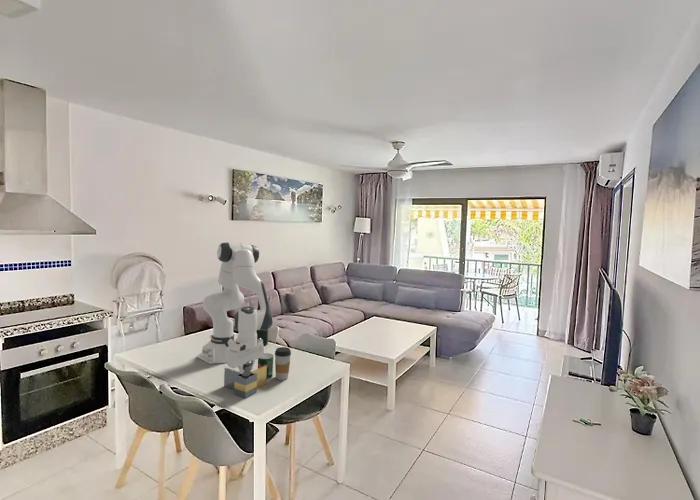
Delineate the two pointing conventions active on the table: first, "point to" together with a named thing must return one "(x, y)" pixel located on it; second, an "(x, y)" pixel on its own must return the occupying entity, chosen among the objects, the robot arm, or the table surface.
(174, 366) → the table surface
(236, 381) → the hinge leaves
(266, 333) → the green wine bottle
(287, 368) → the coffee cup
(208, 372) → the table surface
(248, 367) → the hinge pin
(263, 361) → the canned tomato
